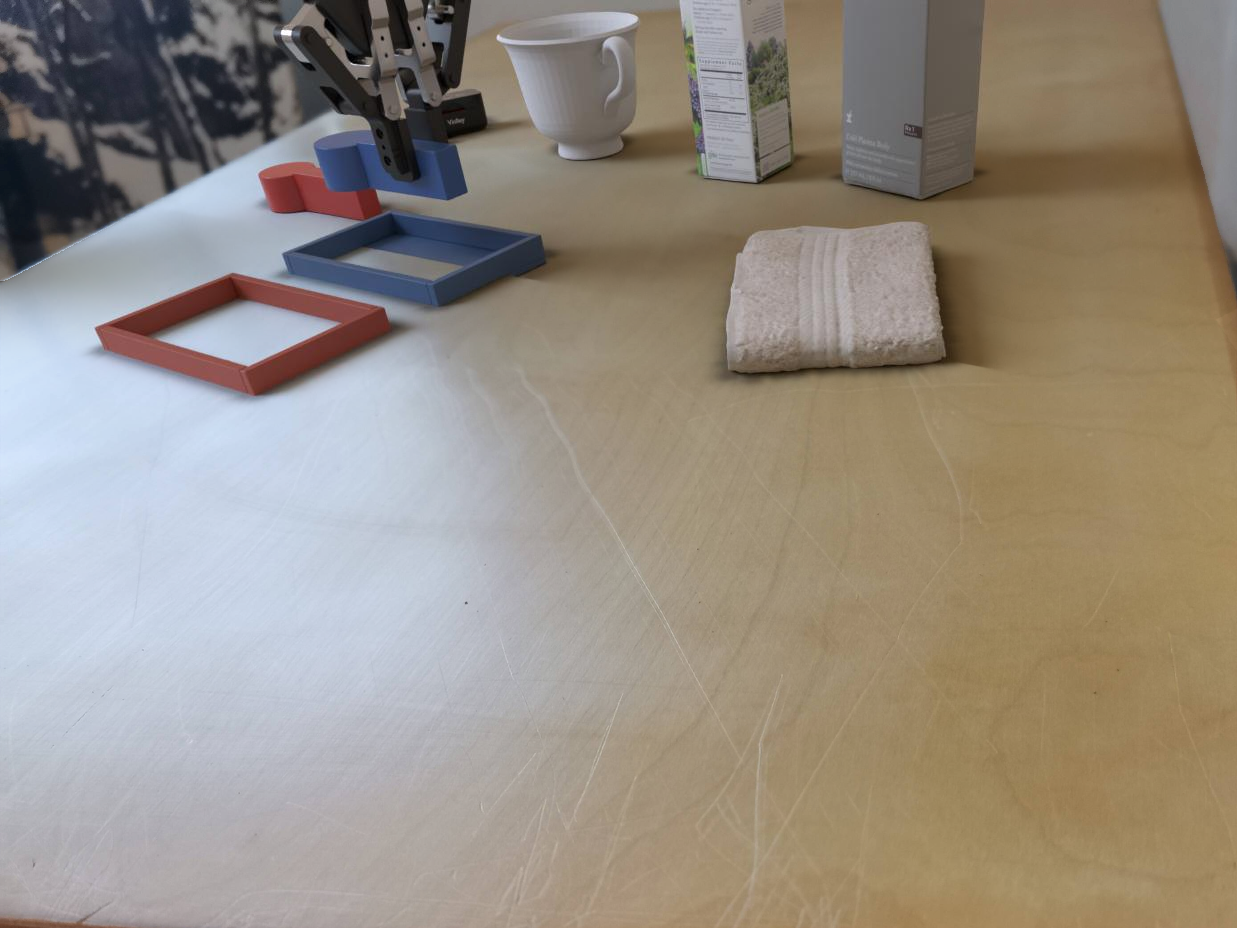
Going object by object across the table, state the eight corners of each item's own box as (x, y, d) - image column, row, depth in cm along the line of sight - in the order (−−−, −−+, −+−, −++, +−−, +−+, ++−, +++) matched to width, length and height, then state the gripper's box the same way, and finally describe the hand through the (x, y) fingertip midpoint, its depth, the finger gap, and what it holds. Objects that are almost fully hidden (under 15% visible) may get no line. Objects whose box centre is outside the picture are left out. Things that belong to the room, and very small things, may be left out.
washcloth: (928, 254, 74) (927, 206, 72) (952, 374, 59) (952, 318, 57) (746, 265, 74) (741, 218, 72) (727, 387, 60) (720, 333, 58)
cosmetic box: (840, 184, 87) (828, -52, 77) (902, 161, 91) (898, -68, 81) (924, 204, 82) (921, -47, 72) (986, 178, 85) (991, -64, 76)
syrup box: (738, 158, 95) (716, -40, 86) (797, 164, 92) (782, -39, 83) (698, 178, 91) (672, -26, 82) (759, 185, 88) (739, -26, 79)
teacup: (583, 187, 91) (557, 51, 85) (498, 155, 101) (470, 31, 95) (704, 152, 97) (688, 23, 91) (614, 125, 106) (594, 6, 100)
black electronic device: (410, 139, 108) (400, 103, 106) (481, 123, 111) (472, 88, 109) (425, 148, 105) (415, 111, 103) (498, 132, 108) (489, 95, 106)
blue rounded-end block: (313, 188, 76) (297, 142, 74) (365, 169, 79) (351, 124, 77) (432, 207, 70) (418, 158, 69) (483, 186, 73) (471, 138, 72)
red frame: (107, 356, 70) (93, 327, 69) (243, 299, 76) (232, 272, 75) (258, 403, 63) (245, 372, 61) (394, 337, 69) (384, 307, 68)
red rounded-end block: (259, 209, 93) (245, 172, 91) (303, 193, 96) (291, 157, 94) (351, 226, 87) (339, 187, 85) (396, 209, 90) (384, 170, 88)
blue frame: (290, 280, 78) (281, 253, 77) (399, 235, 85) (391, 209, 84) (440, 314, 71) (432, 284, 70) (546, 262, 78) (541, 234, 77)
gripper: (384, -158, 68) (459, 141, 79) (180, -132, 59) (295, 201, 70) (471, -164, 65) (538, 150, 75) (267, -137, 56) (375, 214, 66)
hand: (420, 173), depth 73 cm, fingers closed on blue rounded-end block, 2 cm apart
